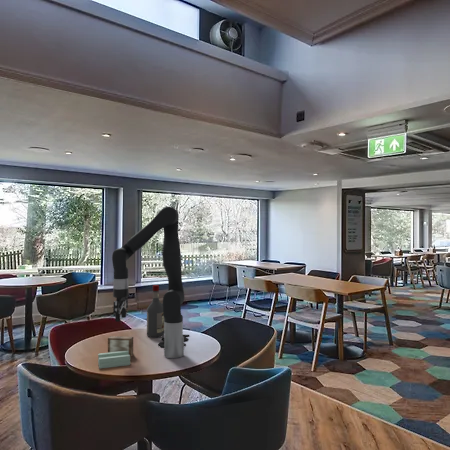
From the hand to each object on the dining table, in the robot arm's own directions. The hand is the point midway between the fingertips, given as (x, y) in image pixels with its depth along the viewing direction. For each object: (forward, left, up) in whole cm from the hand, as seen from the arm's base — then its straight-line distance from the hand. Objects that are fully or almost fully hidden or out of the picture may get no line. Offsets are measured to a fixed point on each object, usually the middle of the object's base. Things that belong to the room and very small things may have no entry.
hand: (120, 319), depth 193 cm
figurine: (-30, -12, -18) cm, 37 cm away
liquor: (-23, -29, -18) cm, 41 cm away
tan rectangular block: (0, 0, -18) cm, 18 cm away
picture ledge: (+4, +11, -18) cm, 21 cm away
